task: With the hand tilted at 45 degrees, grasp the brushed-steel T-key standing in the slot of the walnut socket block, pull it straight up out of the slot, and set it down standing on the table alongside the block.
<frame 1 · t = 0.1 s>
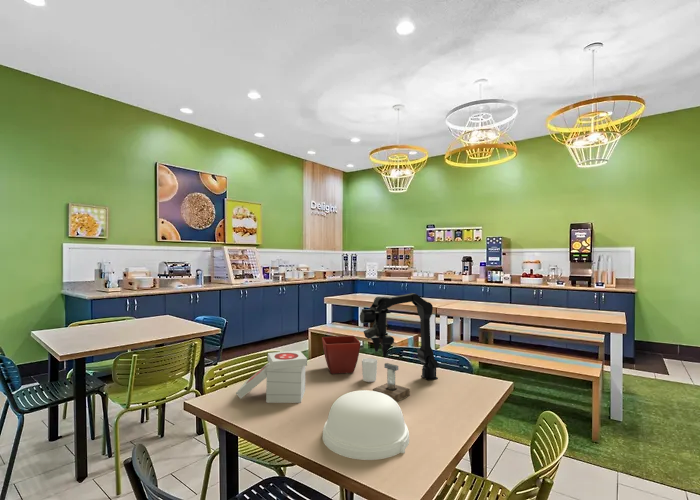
hand: (380, 354, 179), 15 cm above the table, tool pointing down, fingers open, 9 cm apart
pizza boxes: (274, 396, 161), on the table
socket block: (391, 395, 163), on the table
dome cover: (365, 437, 125), on the table
white cup: (369, 380, 184), on the table
t key: (391, 380, 163), in the socket block
plant pot: (340, 370, 200), on the table
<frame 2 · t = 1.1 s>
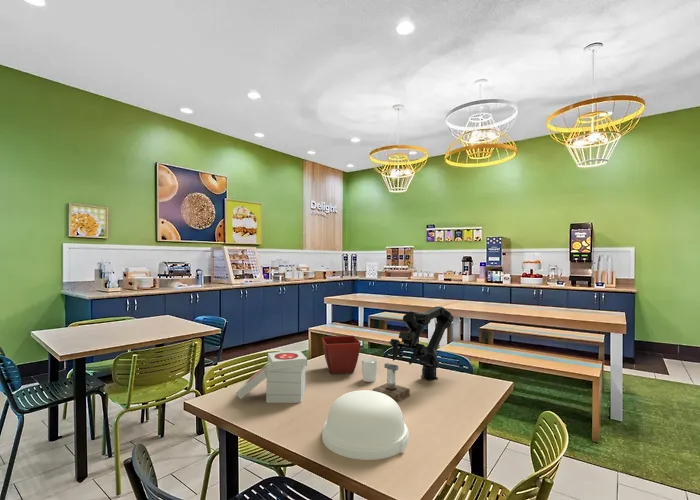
hand: (401, 362, 169), 13 cm above the table, tool tilted 45°, fingers open, 9 cm apart
nothing on the table moved.
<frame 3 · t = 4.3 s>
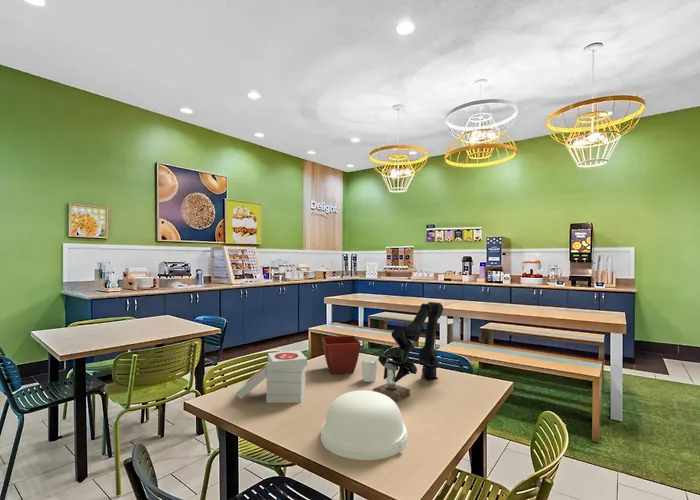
hand: (389, 380, 162), 7 cm above the table, tool tilted 45°, fingers closed on t key, 5 cm apart
t key: (391, 380, 163), in the socket block, touching gripper
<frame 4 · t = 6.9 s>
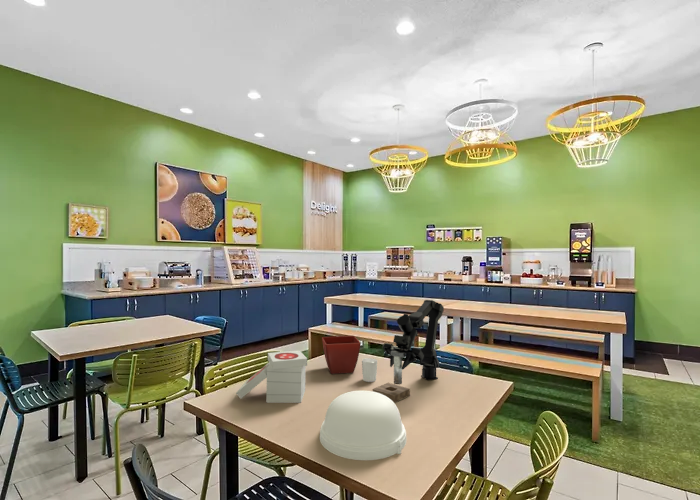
hand: (396, 367, 160), 13 cm above the table, tool tilted 45°, fingers closed on t key, 5 cm apart
t key: (397, 367, 161), point 13 cm above the table, touching gripper
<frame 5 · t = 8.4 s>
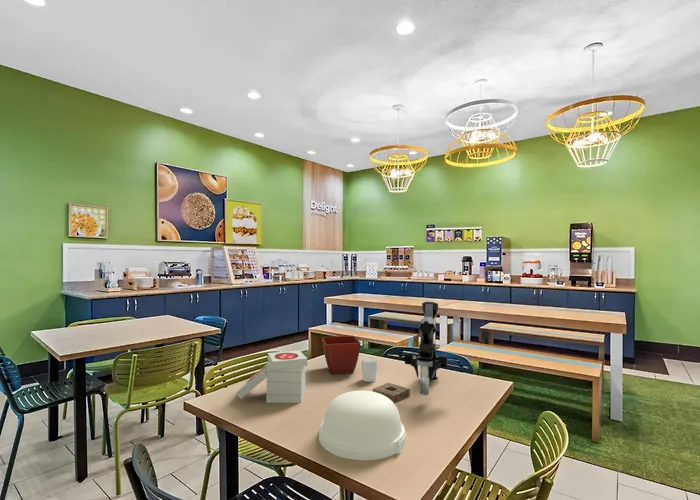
hand: (424, 377, 154), 11 cm above the table, tool tilted 45°, fingers closed on t key, 5 cm apart
t key: (424, 377, 155), point 11 cm above the table, touching gripper
when the fingers open (8 cm above the table, at t = 9.7 s): t key drops 1 cm, on the table.
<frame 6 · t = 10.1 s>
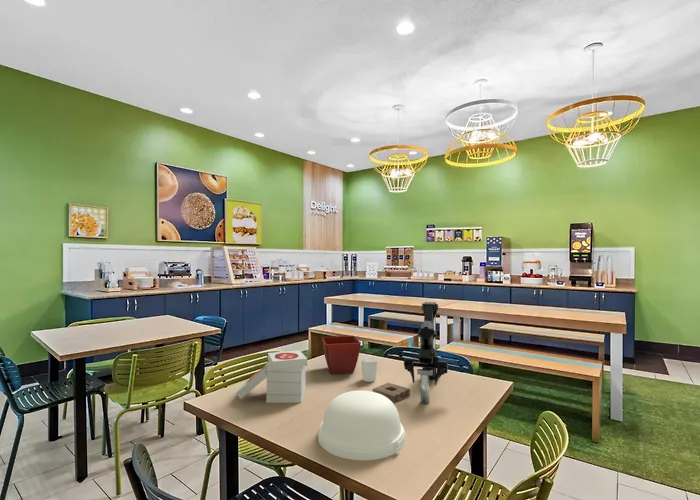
hand: (424, 383, 154), 9 cm above the table, tool tilted 45°, fingers open, 9 cm apart
t key: (424, 386, 155), on the table
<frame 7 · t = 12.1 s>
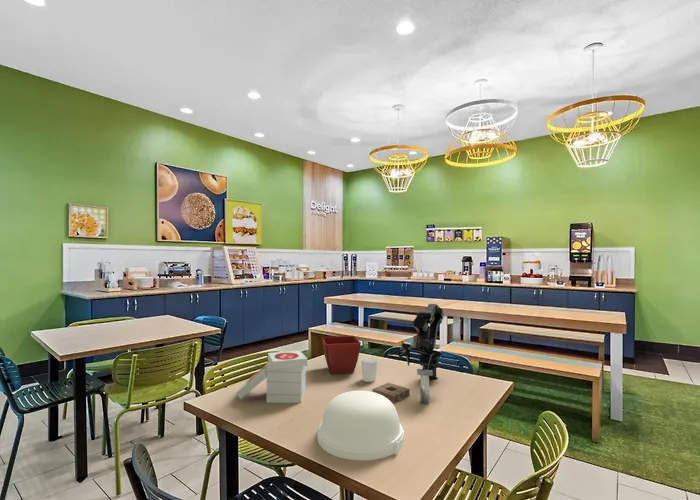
hand: (418, 368, 168), 11 cm above the table, tool tilted 30°, fingers open, 9 cm apart
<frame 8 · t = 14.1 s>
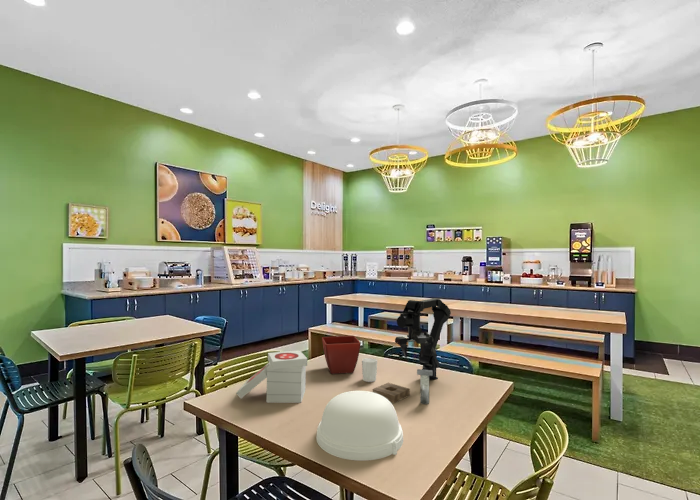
hand: (414, 357, 180), 13 cm above the table, tool pointing down, fingers open, 9 cm apart
at the end: t key inside the target area (0.1 cm from its centre), on the table; t key tilted 0°; the gripper is holding nothing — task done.
